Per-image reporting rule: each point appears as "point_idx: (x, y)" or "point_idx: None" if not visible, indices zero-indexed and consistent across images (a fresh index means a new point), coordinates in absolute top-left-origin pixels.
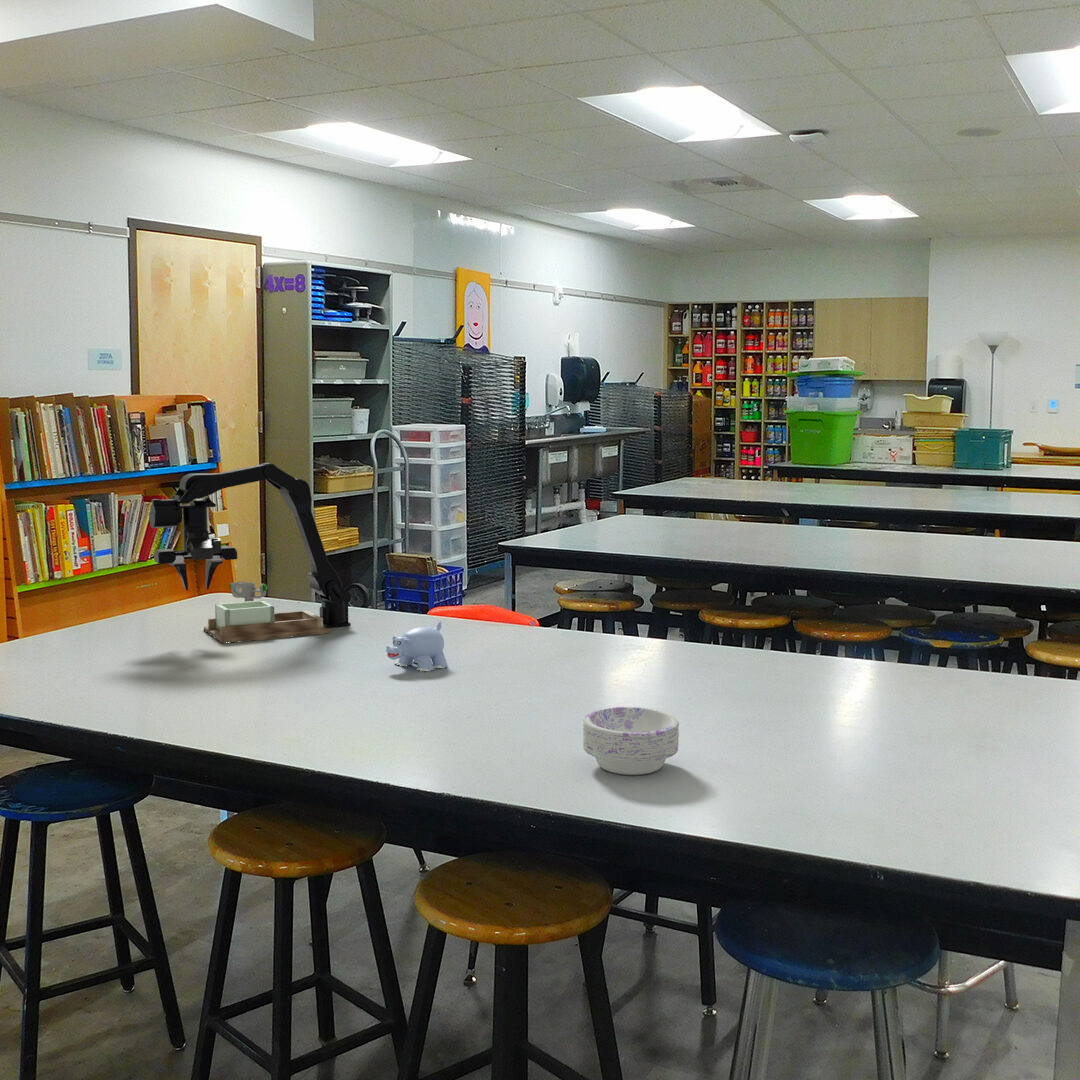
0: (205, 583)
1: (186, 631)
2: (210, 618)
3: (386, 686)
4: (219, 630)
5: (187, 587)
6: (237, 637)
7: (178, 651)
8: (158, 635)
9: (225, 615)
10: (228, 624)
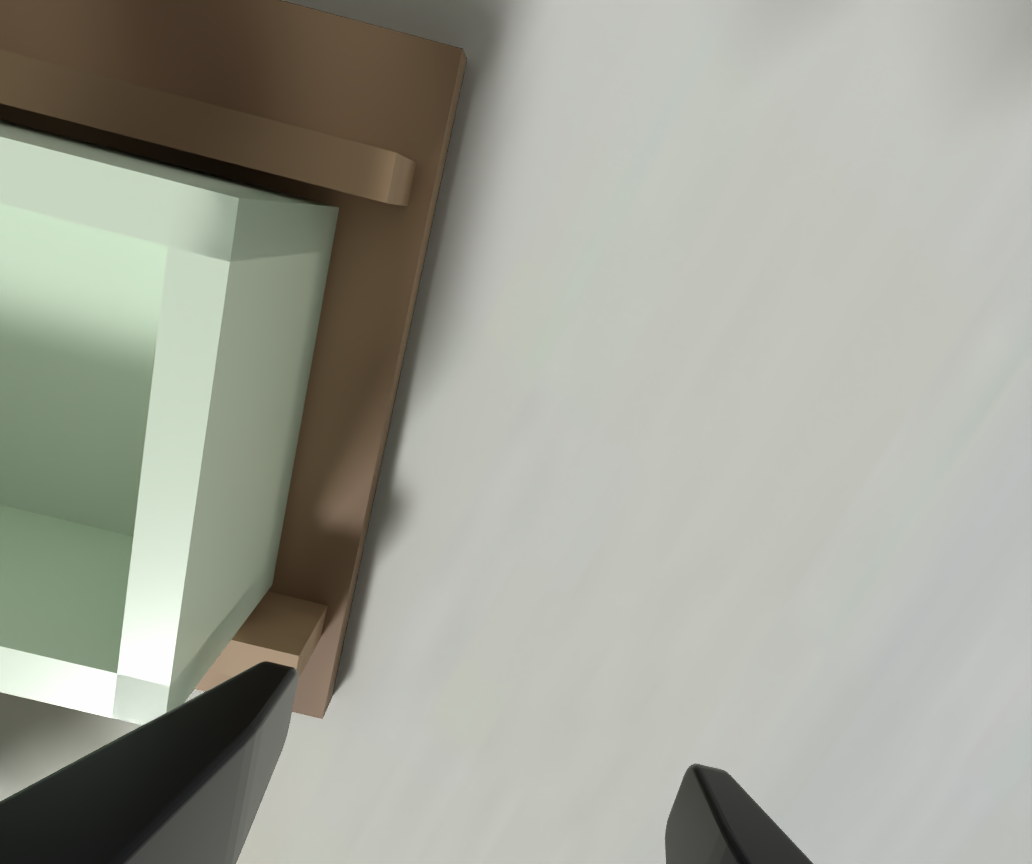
0: (240, 848)
1: (453, 762)
2: None
3: None
4: None
5: (722, 803)
6: (284, 46)
7: (974, 10)
8: None
9: (267, 211)
10: (277, 196)
